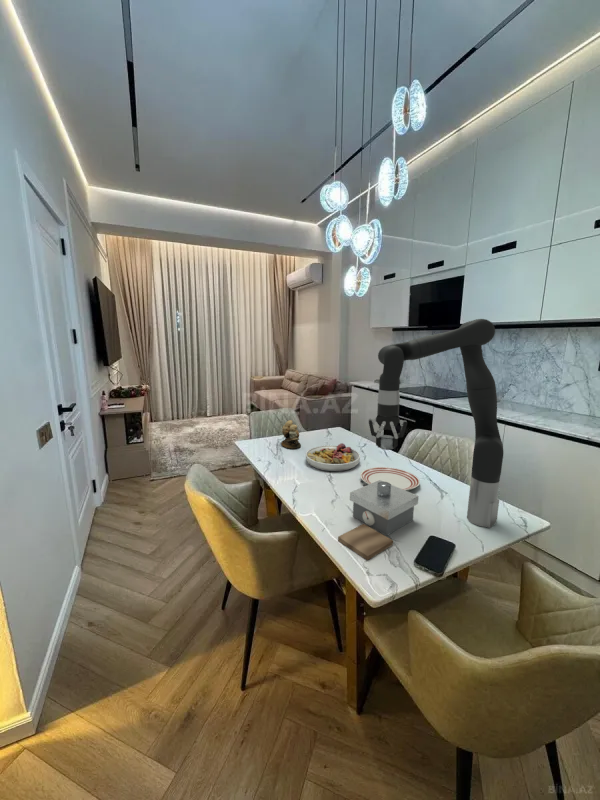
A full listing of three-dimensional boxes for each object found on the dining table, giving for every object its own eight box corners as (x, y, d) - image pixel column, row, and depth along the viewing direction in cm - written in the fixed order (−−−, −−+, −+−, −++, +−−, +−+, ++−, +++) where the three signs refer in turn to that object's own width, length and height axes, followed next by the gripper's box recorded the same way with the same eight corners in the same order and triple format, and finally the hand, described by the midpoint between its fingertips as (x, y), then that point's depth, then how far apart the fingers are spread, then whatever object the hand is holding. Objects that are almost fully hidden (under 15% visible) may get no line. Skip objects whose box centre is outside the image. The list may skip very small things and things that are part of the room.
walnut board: (393, 544, 111) (393, 540, 111) (367, 560, 103) (367, 556, 103) (363, 527, 121) (363, 523, 121) (338, 540, 113) (338, 536, 113)
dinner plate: (370, 467, 177) (371, 462, 176) (424, 479, 163) (425, 472, 162) (351, 487, 153) (351, 481, 153) (411, 502, 140) (412, 495, 139)
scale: (412, 520, 126) (414, 500, 124) (384, 536, 115) (386, 515, 114) (379, 503, 138) (380, 486, 137) (351, 517, 128) (351, 498, 126)
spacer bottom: (393, 494, 125) (393, 484, 124) (385, 498, 122) (385, 488, 121) (382, 489, 129) (383, 480, 128) (374, 493, 126) (374, 483, 125)
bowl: (347, 478, 164) (348, 463, 162) (295, 466, 179) (295, 452, 177) (367, 459, 189) (367, 446, 188) (320, 450, 204) (320, 438, 203)
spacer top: (396, 447, 121) (396, 437, 120) (387, 450, 118) (388, 440, 117) (385, 444, 125) (385, 434, 124) (376, 447, 122) (377, 436, 121)
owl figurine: (305, 448, 207) (305, 422, 203) (288, 451, 201) (288, 424, 198) (293, 440, 222) (293, 415, 219) (277, 443, 217) (276, 418, 214)
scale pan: (417, 503, 124) (418, 496, 124) (388, 520, 113) (388, 511, 113) (379, 487, 138) (379, 479, 138) (349, 500, 127) (350, 492, 127)
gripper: (408, 400, 121) (405, 445, 124) (368, 399, 124) (366, 443, 127) (410, 404, 113) (407, 452, 117) (368, 403, 116) (366, 449, 119)
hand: (386, 447), depth 122 cm, fingers closed on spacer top, 5 cm apart
